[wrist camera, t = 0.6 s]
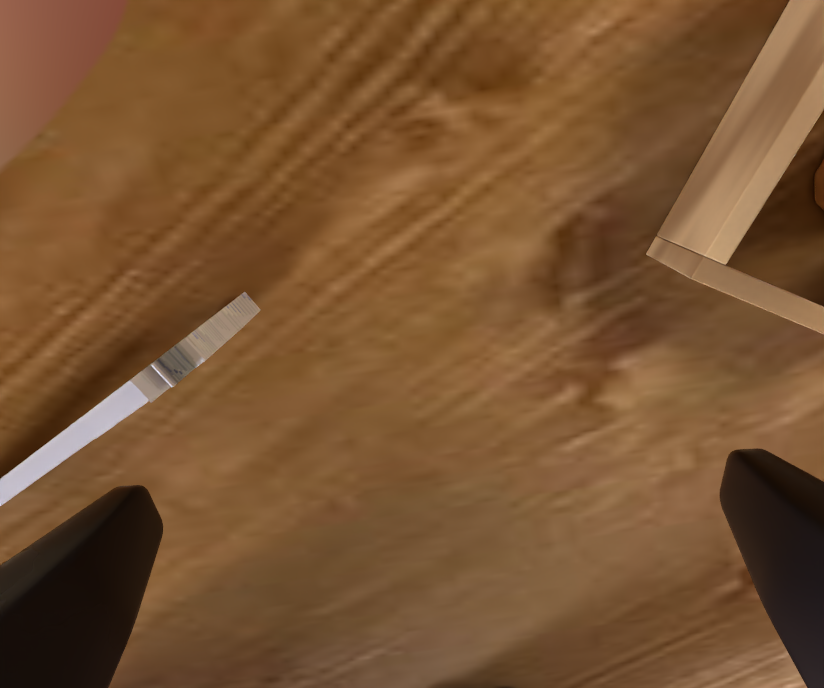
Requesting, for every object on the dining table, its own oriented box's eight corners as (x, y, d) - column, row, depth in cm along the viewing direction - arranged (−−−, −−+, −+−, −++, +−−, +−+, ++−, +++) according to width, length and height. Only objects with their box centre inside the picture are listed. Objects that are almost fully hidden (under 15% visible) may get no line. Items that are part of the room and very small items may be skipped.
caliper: (249, 285, 22) (180, 337, 16) (266, 305, 22) (204, 364, 16) (-38, 507, 27) (-170, 608, 21) (-21, 521, 27) (-147, 624, 21)
